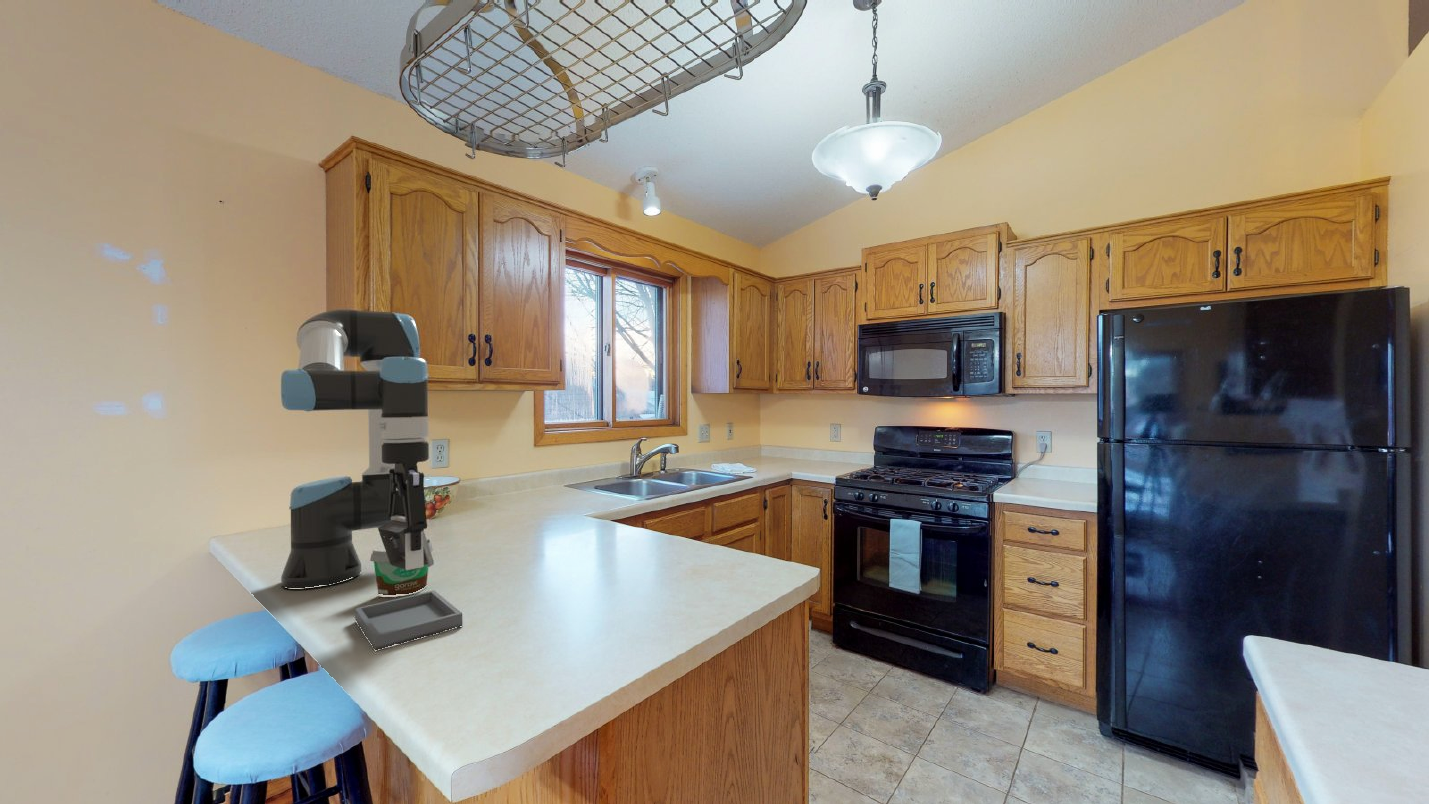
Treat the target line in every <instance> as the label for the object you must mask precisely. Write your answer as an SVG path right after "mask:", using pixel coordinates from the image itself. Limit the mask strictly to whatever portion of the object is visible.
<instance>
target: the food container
mask: <svg viewBox="0 0 1429 804" xmlns="http://www.w3.org/2000/svg"><path fill="white" fill-rule="evenodd" d="M426 539H427V542H428V545H429V548H430V552H431V553H432V552H433V551H434V549H433V543H432V542H431V539H429V538H426ZM369 558H370V559H369V561H371V562H373V565H374V572H375V580H376V588H377V589H376V590H377V595H378V594H383V595H396V594H409V593H413V592H416V591H418V590H420V589H422V588H424V587H425V586H426V585H427V584H428V574H429V567H427V566H424V567H420V568H417V569H415V570H413V571H409V570H406V569H402V568H399V567H395V566H392V564H391V565H390V562H389V559H388V556H387V553H386V551H381V550H380V551H378V550H372V553H371V555H370V557H369ZM404 560H405V559H404Z"/></svg>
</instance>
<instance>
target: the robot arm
mask: <svg viewBox="0 0 1429 804" xmlns="http://www.w3.org/2000/svg"><path fill="white" fill-rule="evenodd" d="M418 332H419V331H418V328H417V324H416V321H415V319H414V318H413V317H412V316H411V315H409V314H406V313H405V314H404V313H398V312H397V313H396V312H393V311H390V312H389V311H388V312H387V311H373V310H358V309H345V308H339V309H331V310H328V311H324V312H321V313H318V314H316V315H314V316H311V317H310V318H308V319H307V320H305V321H304V322H303V323H302V324H301V325H300V326H299V328H298V330H297V334H296V344H297V348H298V349H299V351H300V352H299V358H298V359H299V360H298V366H297V369H286V370H283V372H282V373H281V378H280V396H281V397H280V399H281V405H282V407H283V408H284V409H285V410H287V411H304V412H312V411H314V412H315V411H316V412H317V411H345V410H346V411H348V410H349V411H350V410H355V411H356V410H357V411H359V410H360V411H361V410H362V411H367V414H368V460H369V461H368V467H367V468H366V469H365V471H363V472H362V473H361V479H362V480H361V481H353V479H352V477H351V476H338V477H330V478H326V479H325V478H324V479H320V480H316V481H315V480H314V481H311V482H307V483H303V484H300V485H297V486H296V487H295V488H293V489H292V490H291V493H290V504H289V506H288V508H289V510H290V552H289V556H288V557H287V561H286V563H285V565H284V568H283V571H282V574H281V577H280V578H281V585H282V586H283V587H287V588H305V587H314V586H319V585H329V584H333V583H337V582H340V581H343V580H346V579H349V578H351V577H355V576H357V575H359V574H360V572H361V573H362V562H361V559H360V558H359V555H358V552H357V550H356V548H355V546H354V543H353V531H361V530H363V531H364V530H370V529H378V527H381V526H383V525H385V524H387V523H389V522H391V517H392V516H395V515H398V516H403V517H405V519H406V526H407V529H404V530H403V531H402V533H403V534H405V566H406V570H410V569H415V568H420V567H424V557H423V531H424V530H426V529H427V528H428V522H427V510H426V496H425V485H424V483H425V474H424V472H421V471H419V469H418V463H424V462H426V461H428V460H429V458H430V456H429V455H430V453H429V451H430V450H429V449H430V448H429V442H428V441H426V439H428V438H429V437H430V432H429V431H430V430H429V429H430V427H429V425H430V424H429V423H430V422H429V420H430V419H429V413H428V410H429V408H428V406H429V404H428V402H429V401H428V399H429V398H428V397H429V395H428V390H429V389H428V387H429V386H428V385H429V384H428V383H429V381H428V379H429V373H428V363H427V361H426V360H425V359H424V358H421V357H420V356H421V349H420V339H419V333H418ZM345 357H351V358H359V364H360V366H361V367H362V368H364V369H365V370H345V365H344V363H345V362H344V358H345ZM416 522H418V523H416ZM424 532H425V531H424ZM360 575H361V574H360ZM360 575H359V576H360ZM357 577H358V576H357ZM281 585H280V586H281ZM282 586H281V587H282ZM283 587H282V588H283Z"/></svg>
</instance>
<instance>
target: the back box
mask: <svg viewBox="0 0 1429 804" xmlns="http://www.w3.org/2000/svg"><path fill="white" fill-rule="evenodd" d="M354 611H355V612H354V615H355V617H354V621H355V620H356V621H357V623H358V625H359V627H361V629H362V631H363V632H364V634H365V636H366V637H367V638H368V640H369V641H370V643H371V644H372V646H373V648H374V649H375V650H378V649H382V648H385V647H388V646H392V645H394V644H401V643H404V642H407V641H411V640H414V639H417V638H421V637H424V636H429V637H431V636H430V635H432V636H434V635H433V634H436V633H439V634H441V633H440V632H443V631H445V630H449V629H452V628H455V627H460V626H462V627H463V612H462V611H460V610H459V609H458V608H457V607H455V605H453V604H452V603H450V601H448V600H447V599H445V597H444V596H442V595H440V594H439V593H438V592H437V591H436V590H434V589H433V590H429V591H424V592H419V593H416V594H412V595H408V596H403V597H398V598H393V599H390V600H386V601H382V602H377V603H372V604H369V605H365V606H360V607H357V608H354ZM358 625H357V626H358ZM359 627H358V628H359ZM460 628H461V627H460ZM362 631H361V632H362ZM443 633H444V632H443ZM364 634H363V635H364ZM436 635H437V634H436ZM365 636H364V637H365ZM366 637H365V638H366ZM368 640H367V641H368ZM411 642H412V641H411ZM370 643H369V644H370ZM404 644H405V643H404ZM401 645H402V644H401ZM372 646H371V647H372ZM373 648H372V649H373ZM374 649H373V650H374Z"/></svg>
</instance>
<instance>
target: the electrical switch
mask: <svg viewBox="0 0 1429 804" xmlns="http://www.w3.org/2000/svg"><path fill="white" fill-rule="evenodd" d="M416 523H418V522H416ZM404 529H407V526H406V519H405V517H403V516H398V515H395V516H392V517H391V522H389V523H387V524H385V525H383V526H381V527H378V528H377V530H378V532H379V535H380V539H381V541H382V544H383V547H384V550H385V552H386V553H387V556H388V559H389V562H390V565H391V564H392V566H395V567H399V568H402V569H406V566H405V560H404V559H405V534H403V533H402V531H403V530H404ZM427 539H428V538H427V537H426V533H425V531H423V557H424V566H427V567H428V568H430V567H432V566H433V565H434V564H435V561H434V558H433V555H432V552H430V548H429V545H428V542H427ZM415 569H417V568H415ZM415 569H410V570H409V571H413V570H415Z"/></svg>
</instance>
